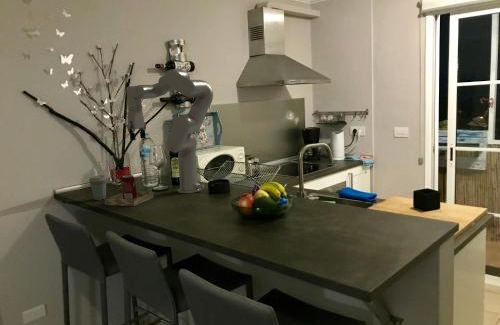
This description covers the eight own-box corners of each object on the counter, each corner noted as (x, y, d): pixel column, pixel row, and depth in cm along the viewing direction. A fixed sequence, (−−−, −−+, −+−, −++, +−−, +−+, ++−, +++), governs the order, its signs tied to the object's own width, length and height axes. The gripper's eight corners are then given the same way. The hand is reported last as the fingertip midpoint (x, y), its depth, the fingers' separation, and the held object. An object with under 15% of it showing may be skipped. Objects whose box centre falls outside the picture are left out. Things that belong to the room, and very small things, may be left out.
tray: (154, 197, 214) (153, 192, 213) (134, 206, 198) (133, 200, 197) (126, 196, 219) (125, 191, 219) (104, 204, 203) (104, 199, 203)
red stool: (133, 201, 204) (130, 177, 203) (120, 201, 206) (118, 177, 204) (139, 197, 211) (137, 174, 209) (127, 197, 212) (124, 174, 211)
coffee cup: (105, 200, 212) (102, 177, 210) (88, 201, 212) (86, 178, 211) (111, 197, 221) (108, 174, 219) (95, 197, 221) (92, 175, 219)
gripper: (138, 108, 241) (141, 137, 244) (119, 109, 225) (123, 141, 228) (149, 107, 239) (152, 137, 241) (131, 109, 223) (134, 140, 225)
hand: (138, 139), depth 235 cm, fingers open, 9 cm apart
